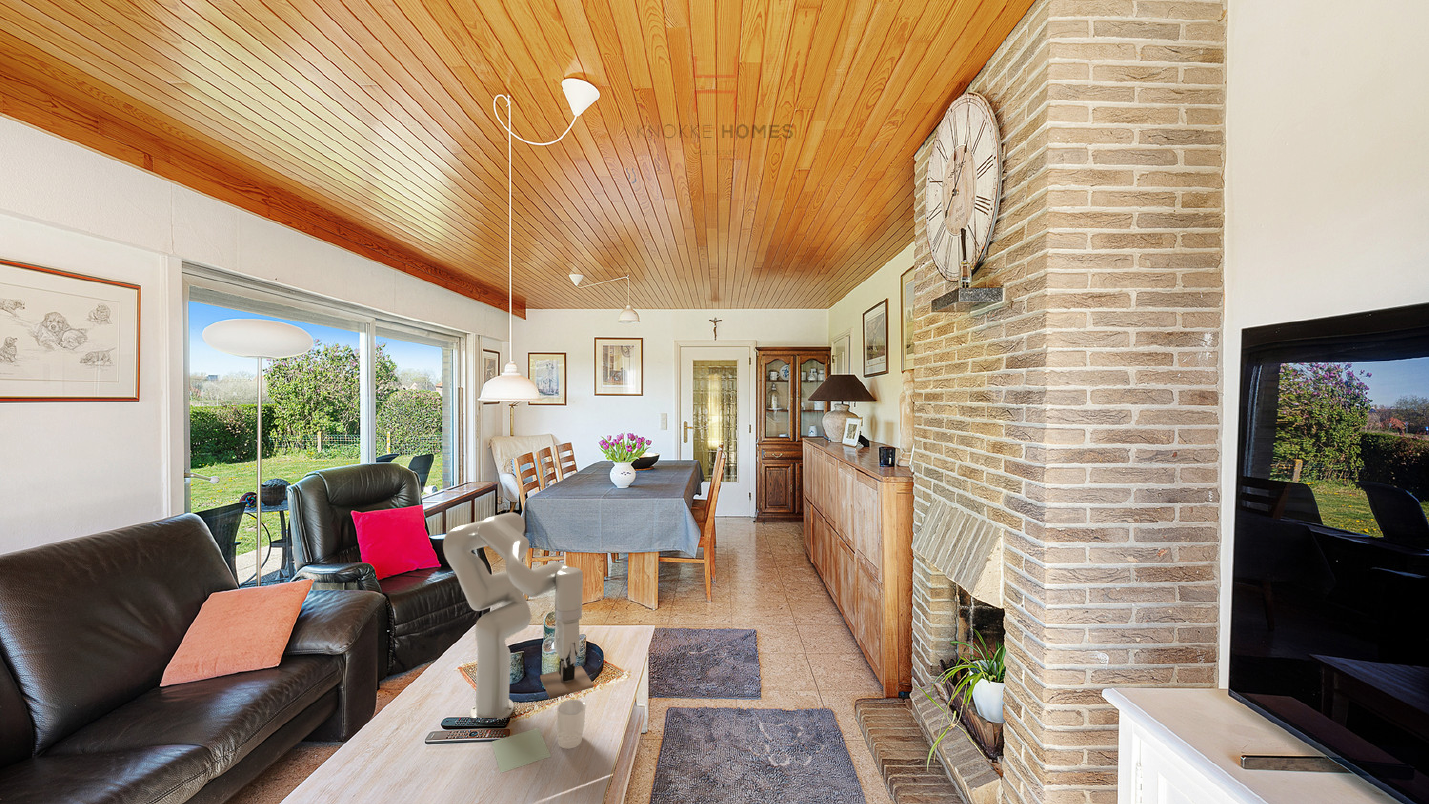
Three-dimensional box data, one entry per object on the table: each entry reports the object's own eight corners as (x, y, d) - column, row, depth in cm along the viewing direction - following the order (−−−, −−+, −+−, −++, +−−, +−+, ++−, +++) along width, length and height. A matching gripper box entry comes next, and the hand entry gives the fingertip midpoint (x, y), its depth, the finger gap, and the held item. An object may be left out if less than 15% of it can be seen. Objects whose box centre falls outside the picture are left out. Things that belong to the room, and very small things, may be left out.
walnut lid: (540, 677, 150) (540, 657, 150) (581, 668, 156) (581, 648, 156) (549, 698, 140) (550, 677, 140) (593, 687, 146) (593, 666, 146)
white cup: (576, 753, 144) (577, 717, 144) (550, 748, 146) (552, 713, 146) (588, 735, 152) (590, 701, 152) (564, 731, 154) (565, 697, 154)
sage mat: (491, 743, 147) (491, 741, 147) (538, 729, 154) (538, 727, 154) (500, 774, 135) (500, 772, 135) (550, 757, 142) (551, 756, 142)
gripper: (548, 604, 153) (546, 667, 153) (562, 626, 139) (560, 694, 139) (573, 600, 157) (571, 661, 157) (590, 620, 143) (588, 687, 143)
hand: (566, 676), depth 148 cm, fingers closed on walnut lid, 3 cm apart
